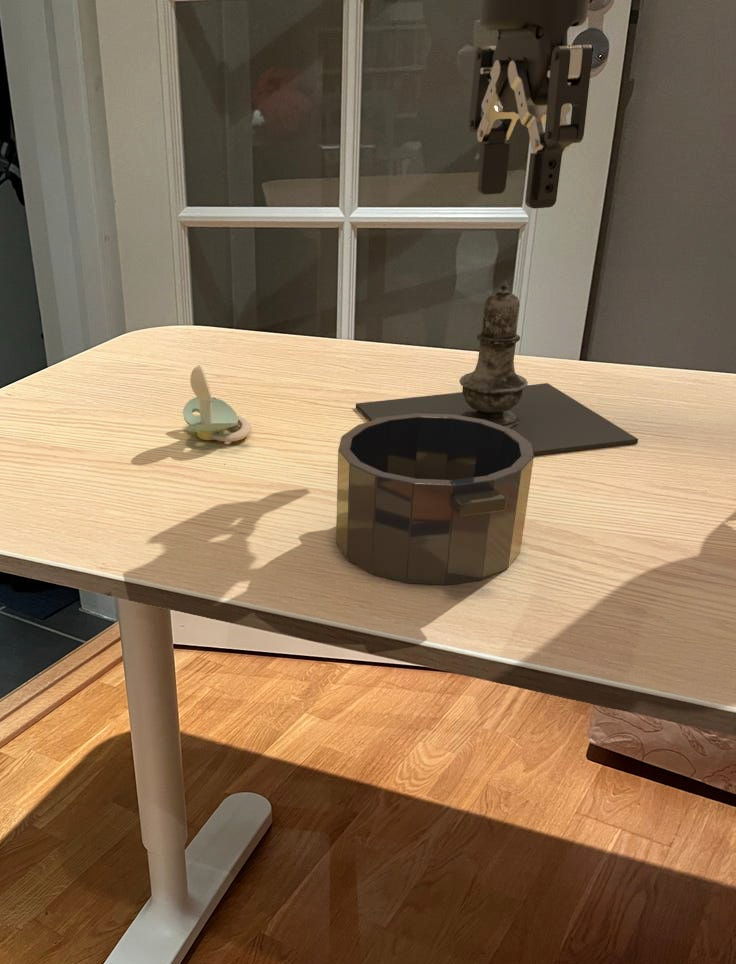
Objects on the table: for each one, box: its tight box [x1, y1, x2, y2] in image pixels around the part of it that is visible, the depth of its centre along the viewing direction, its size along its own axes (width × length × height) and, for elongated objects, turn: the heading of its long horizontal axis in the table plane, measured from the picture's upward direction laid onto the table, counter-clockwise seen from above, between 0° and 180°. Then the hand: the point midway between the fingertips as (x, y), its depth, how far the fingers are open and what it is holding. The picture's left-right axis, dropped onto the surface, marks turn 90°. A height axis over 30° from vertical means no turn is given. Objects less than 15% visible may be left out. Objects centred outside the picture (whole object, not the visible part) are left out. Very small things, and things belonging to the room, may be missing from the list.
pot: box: [335, 413, 535, 586], centre depth 64 cm, size 13×16×7 cm
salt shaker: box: [459, 280, 529, 428], centre depth 81 cm, size 6×6×12 cm
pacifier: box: [182, 364, 252, 443], centre depth 83 cm, size 7×6×6 cm
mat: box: [355, 382, 639, 457], centre depth 85 cm, size 20×16×1 cm
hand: (514, 200), depth 75 cm, fingers open, 8 cm apart
